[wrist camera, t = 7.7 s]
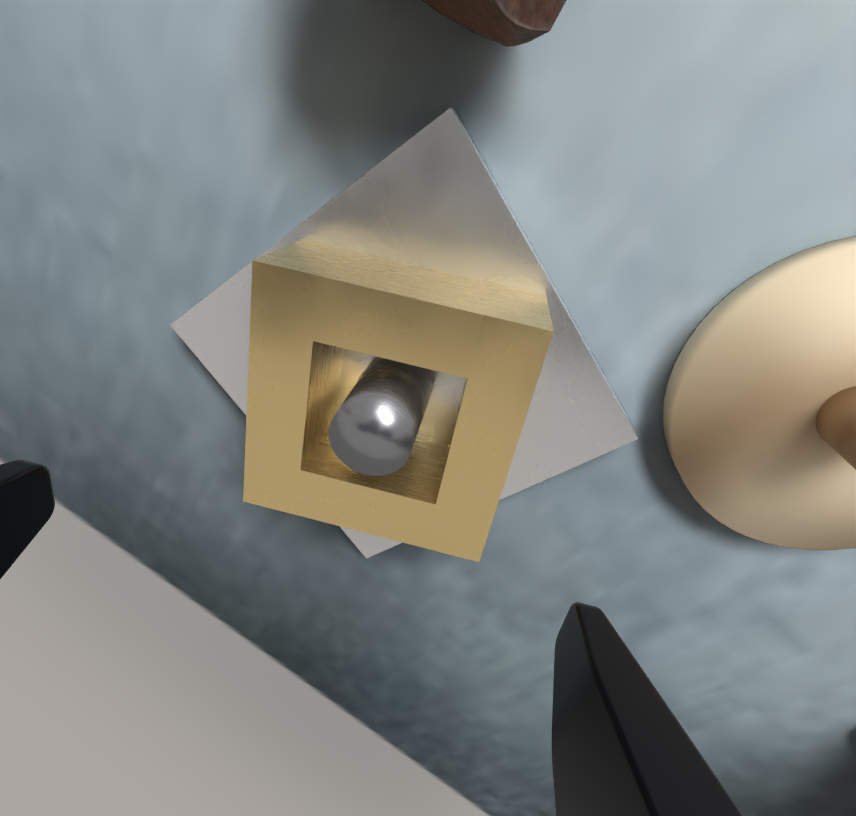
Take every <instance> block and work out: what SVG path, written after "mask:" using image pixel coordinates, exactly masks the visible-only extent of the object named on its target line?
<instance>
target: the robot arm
mask: <svg viewBox="0 0 856 816" xmlns="http://www.w3.org/2000/svg"><path fill="white" fill-rule="evenodd" d="M54 506H55V501H54V495H53V490H52V484H51V478H50V473H49V470H48V469H47V468H46V467H45V466H43V465H41V464H37V463H33V462H29V461H25V460H17V461H12V462H9V463H5V464H1V465H0V579H1V577H2V576H3V575H4V574H5V573H6V572H7V570H8V569H9V568H10V567H11V565H12V564H13V563H14V562H15V560H16V559H17V558H18V557H19V555H20V554H21V553H22V552H23V550H24V549H25V548H26V547H27V546H28V544H29V543H30V542H31V541H32V539H33V538H34V537H35V536H36V534H37V533H38V532H39V531H40V530H41V528H42V527H43V526H44V524H45V523H46V522H47V521H48V520H49V518H50V517H51V515H52V513H53V510H54ZM552 765H553V779H554V794H555V808H556V816H743V815H742V813H741V812H740V810H739V809H738V807H737V806H736V805H735V803H734V802H733V800H732V799H731V797H730V796H729V794H728V793H727V791H726V790H725V789H724V787H723V786H722V784H721V783H720V781H719V780H718V778H717V777H716V775H715V774H714V773H713V771H712V770H711V768H710V767H709V765H708V764H707V762H706V761H705V760H704V758H703V757H702V755H701V754H700V752H699V751H698V749H697V748H696V746H695V745H694V744H693V742H692V741H691V739H690V738H689V736H688V735H687V733H686V732H685V731H684V729H683V728H682V726H681V725H680V723H679V722H678V720H677V719H676V717H675V716H674V715H673V713H672V712H671V710H670V709H669V707H668V706H667V704H666V703H665V701H664V700H663V699H662V697H661V696H660V694H659V693H658V691H657V690H656V688H655V687H654V686H653V684H652V683H651V681H650V680H649V678H648V677H647V675H646V674H645V672H644V671H643V670H642V668H641V667H640V665H639V664H638V662H637V661H636V659H635V658H634V657H633V655H632V654H631V652H630V651H629V649H628V648H627V646H626V645H625V643H624V642H623V641H622V639H621V638H620V636H619V635H618V633H617V632H616V630H615V629H614V627H613V626H612V625H611V623H610V622H609V620H608V619H607V617H606V616H605V614H604V613H603V612H602V611H601V610H600V609H599V608H598V607H595V606H591V605H587V604H583V603H579V602H576V603H574V604H573V605H572V606H571V607H570V609H569V611H568V614H567V616H566V618H565V620H564V622H563V624H562V627H561V629H560V631H559V633H558V636H557V639H556V644H555V659H554V687H553V714H552Z"/></svg>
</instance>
